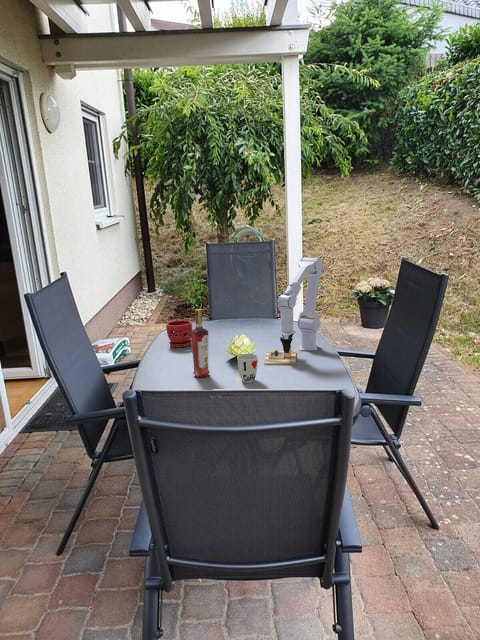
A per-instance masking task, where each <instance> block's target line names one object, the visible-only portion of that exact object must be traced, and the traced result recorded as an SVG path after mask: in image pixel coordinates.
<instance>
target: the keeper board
mask: <svg viewBox="0 0 480 640" xmlns="http://www.w3.org/2000/svg"><path fill="white" fill-rule="evenodd" d="M270 352H274V355H271V356H282V355H278V352H284V350H277V349H275V350H266V351H265V357H264V361H263V365H265V366H268V365H269V366H270V365H271V366H272V365H273V366H274V365H275V366H296V365H297V351H296V350H291V358H284V359H268V356H269V353H270Z"/></svg>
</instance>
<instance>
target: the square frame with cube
mask: <svg viewBox="0 0 480 640" xmlns="http://www.w3.org/2000/svg"><path fill="white" fill-rule="evenodd" d="M291 351H292V344H291V345H290V351H289V353H284V352H278V355H282V356H271V355H274V352H270V353H269V356H268V359H284V358H291Z"/></svg>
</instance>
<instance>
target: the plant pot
mask: <svg viewBox="0 0 480 640" xmlns="http://www.w3.org/2000/svg"><path fill="white" fill-rule="evenodd" d="M165 329H166V335H167V338H168V339H169V345H170V346H171V347H173V348H185V347H189V346H190V345H192V344H191V334H190V332H191V331H192V330H193V323H192V321H191V320H172V321H169V322H166V324H165Z"/></svg>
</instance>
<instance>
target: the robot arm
mask: <svg viewBox="0 0 480 640" xmlns="http://www.w3.org/2000/svg"><path fill="white" fill-rule="evenodd" d="M323 269H324V262H323V260H322V258H321V257H310V256H309V257H306V256H302V257H301V258H300V260H299V262H298V271H297V272H296V275H295V277H294V279H293V281H290V282H289V283H288V286H287V287H286V289H285V291H284V292H283V294H281V295H279V297H278V299H277V306H278V310H279V311H280V312H279V314H280V330H279V331H280V332H279V334H281V337H279V340H280V342H281V345H282V348H283V350H282V351H284V353H289V351H290V345H291V346H292V342H293V336H294V334H296V332H297V330H294V308H295V306H296V304H297V300H298V298H297V296H298V295H299V293H300V292H301V289H302V286H301V284H302V283H303V281H304V280H305V279H306V277H308V280H307V289H306V294H305V304H304V310H302V311H301V312H299V315H298V318H297V321H296V325H297V328H298V330H299V331H300V345H299V348H300V349H299V350H300V351H315V352H317V351H318V346H317V332H318V330H319V329H320V328H321V327H320V326H321V320H320V319H321V316H320V315H319V313H317V311H316V308H317V299H318V293H319V286H320V278H321V276H323Z"/></svg>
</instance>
